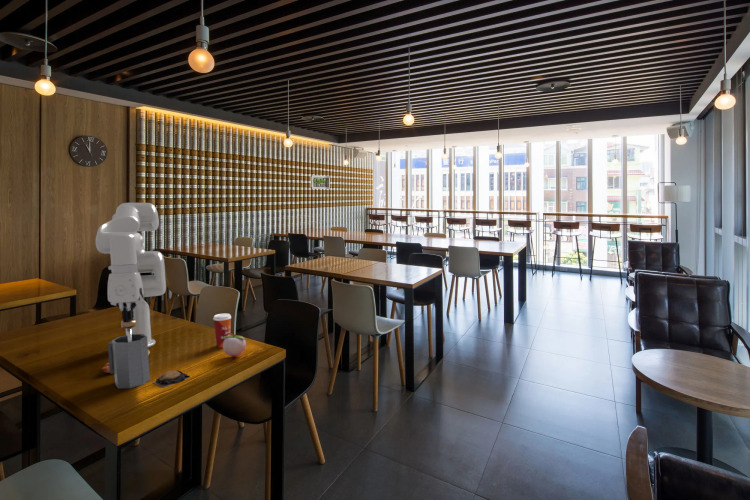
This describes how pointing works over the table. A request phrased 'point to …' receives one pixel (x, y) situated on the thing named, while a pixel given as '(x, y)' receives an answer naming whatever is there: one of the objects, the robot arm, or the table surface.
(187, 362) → the table surface
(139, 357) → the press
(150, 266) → the robot arm
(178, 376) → the abalone
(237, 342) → the decorative fruit
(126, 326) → the plunger
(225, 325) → the paper cup
